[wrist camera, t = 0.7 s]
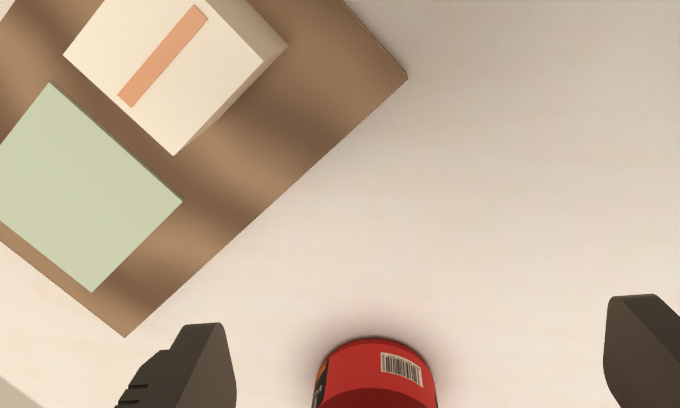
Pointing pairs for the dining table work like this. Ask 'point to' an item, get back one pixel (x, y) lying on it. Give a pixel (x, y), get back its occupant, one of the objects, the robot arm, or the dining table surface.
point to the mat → (77, 189)
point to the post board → (202, 136)
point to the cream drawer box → (175, 60)
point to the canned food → (374, 377)
